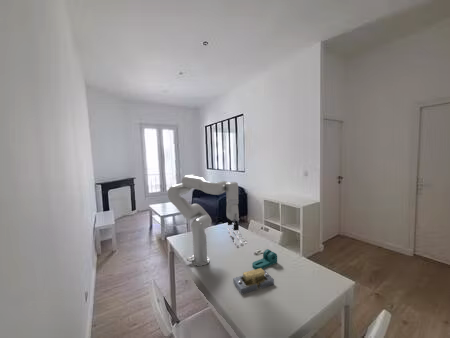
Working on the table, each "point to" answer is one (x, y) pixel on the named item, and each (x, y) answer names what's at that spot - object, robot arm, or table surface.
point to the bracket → (265, 260)
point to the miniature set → (237, 237)
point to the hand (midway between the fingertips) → (233, 227)
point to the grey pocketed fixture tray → (244, 289)
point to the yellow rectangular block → (254, 276)
